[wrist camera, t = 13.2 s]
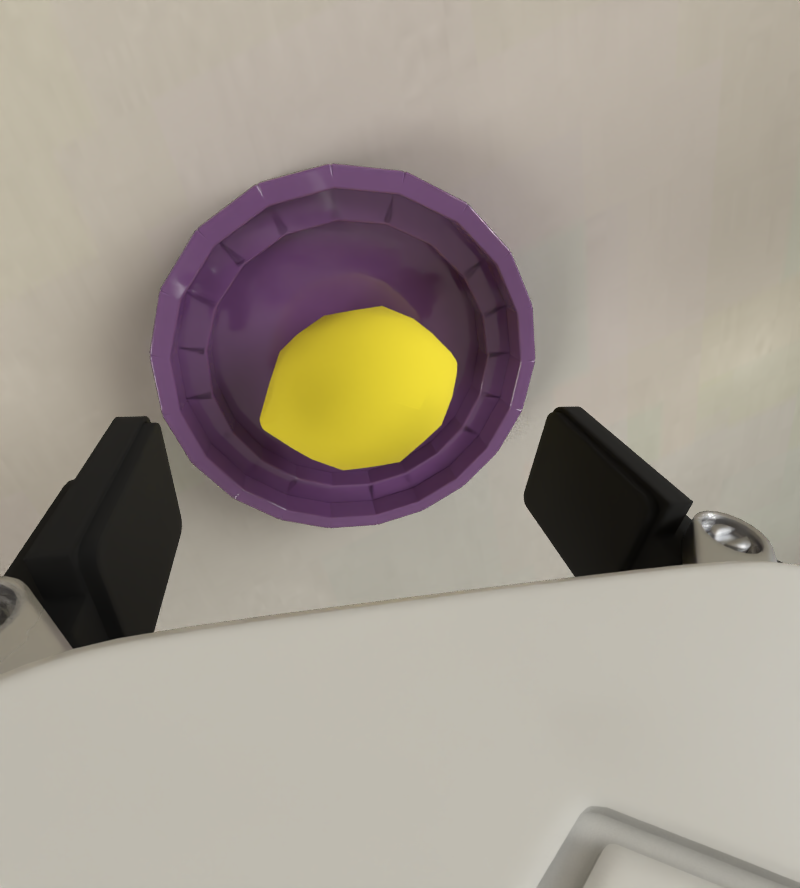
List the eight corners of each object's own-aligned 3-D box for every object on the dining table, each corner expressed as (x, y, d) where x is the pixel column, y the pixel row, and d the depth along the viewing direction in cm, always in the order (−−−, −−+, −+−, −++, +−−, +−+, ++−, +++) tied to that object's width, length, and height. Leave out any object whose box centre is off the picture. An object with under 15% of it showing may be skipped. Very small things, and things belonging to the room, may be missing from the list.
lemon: (423, 267, 16) (473, 306, 11) (447, 396, 19) (494, 467, 14) (235, 322, 16) (211, 384, 11) (289, 444, 19) (288, 531, 14)
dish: (199, 498, 20) (188, 538, 18) (133, 143, 13) (101, 138, 11) (476, 483, 23) (495, 517, 20) (541, 186, 16) (579, 189, 14)
